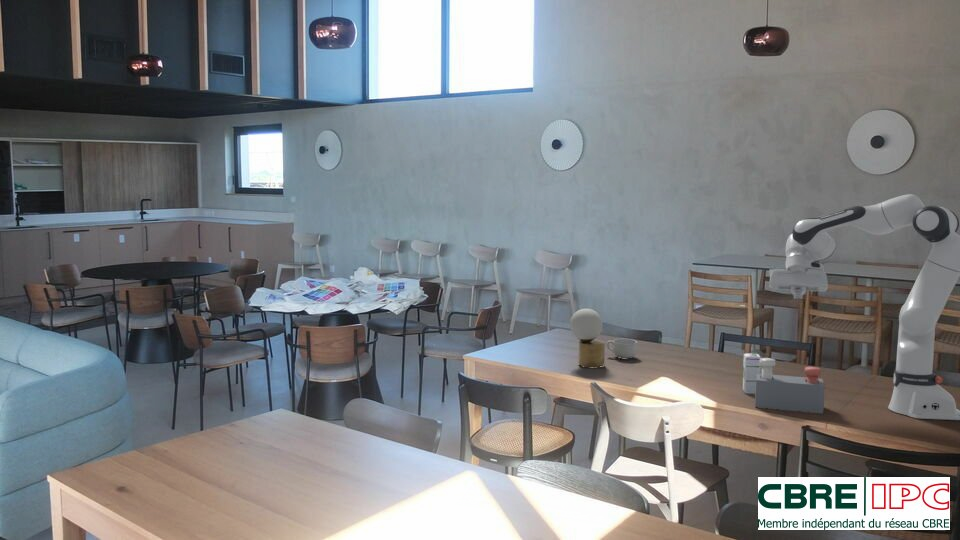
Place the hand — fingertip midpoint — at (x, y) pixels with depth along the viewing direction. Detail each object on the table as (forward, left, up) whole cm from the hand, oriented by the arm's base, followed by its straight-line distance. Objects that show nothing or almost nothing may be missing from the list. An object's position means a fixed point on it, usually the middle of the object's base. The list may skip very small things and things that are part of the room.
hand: (798, 298), depth 279 cm
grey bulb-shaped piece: (+10, +14, -35) cm, 39 cm away
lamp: (+83, -24, -38) cm, 94 cm away
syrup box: (+15, -2, -38) cm, 40 cm away
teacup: (+71, -44, -38) cm, 91 cm away
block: (+2, +14, -37) cm, 40 cm away
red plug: (-5, +14, -37) cm, 40 cm away
